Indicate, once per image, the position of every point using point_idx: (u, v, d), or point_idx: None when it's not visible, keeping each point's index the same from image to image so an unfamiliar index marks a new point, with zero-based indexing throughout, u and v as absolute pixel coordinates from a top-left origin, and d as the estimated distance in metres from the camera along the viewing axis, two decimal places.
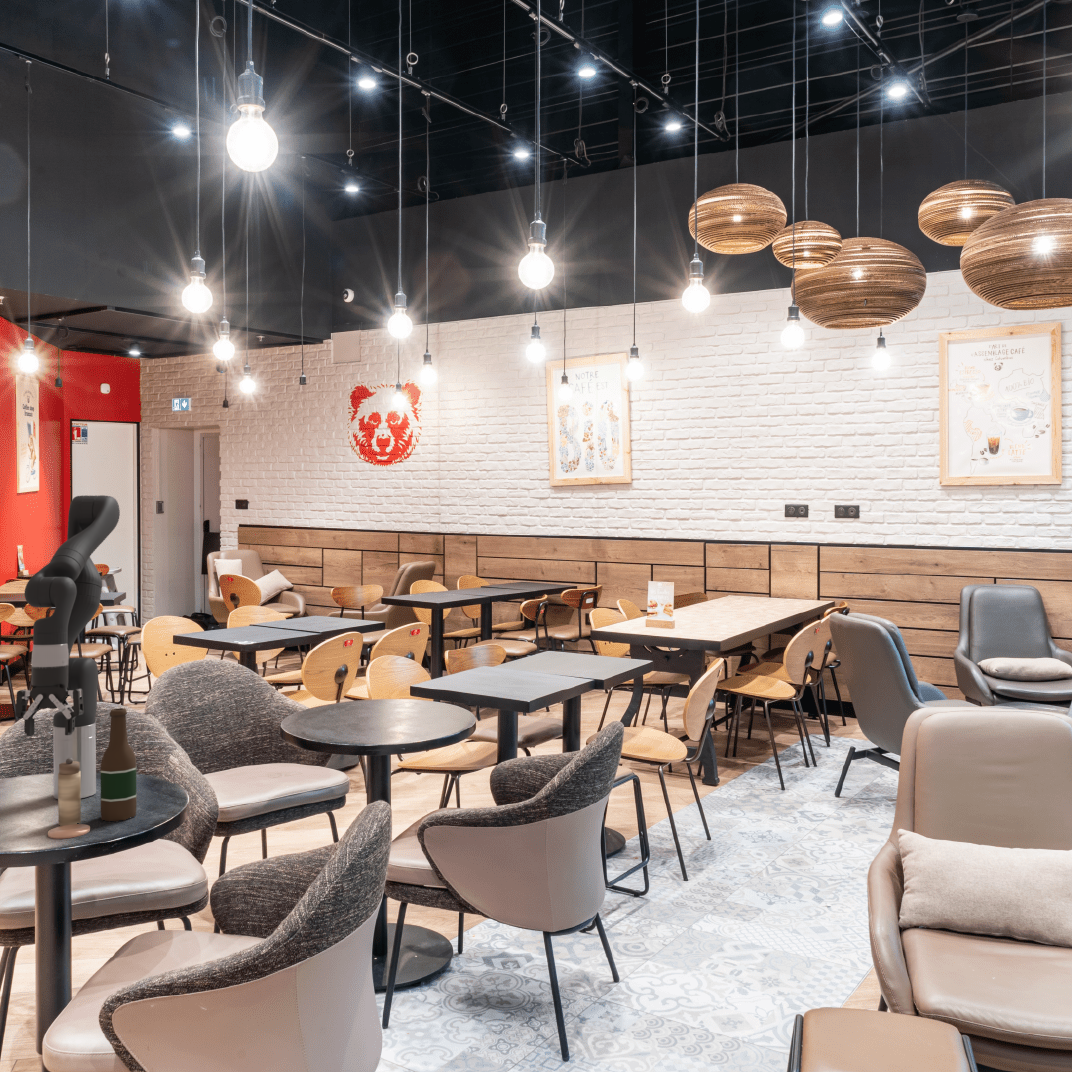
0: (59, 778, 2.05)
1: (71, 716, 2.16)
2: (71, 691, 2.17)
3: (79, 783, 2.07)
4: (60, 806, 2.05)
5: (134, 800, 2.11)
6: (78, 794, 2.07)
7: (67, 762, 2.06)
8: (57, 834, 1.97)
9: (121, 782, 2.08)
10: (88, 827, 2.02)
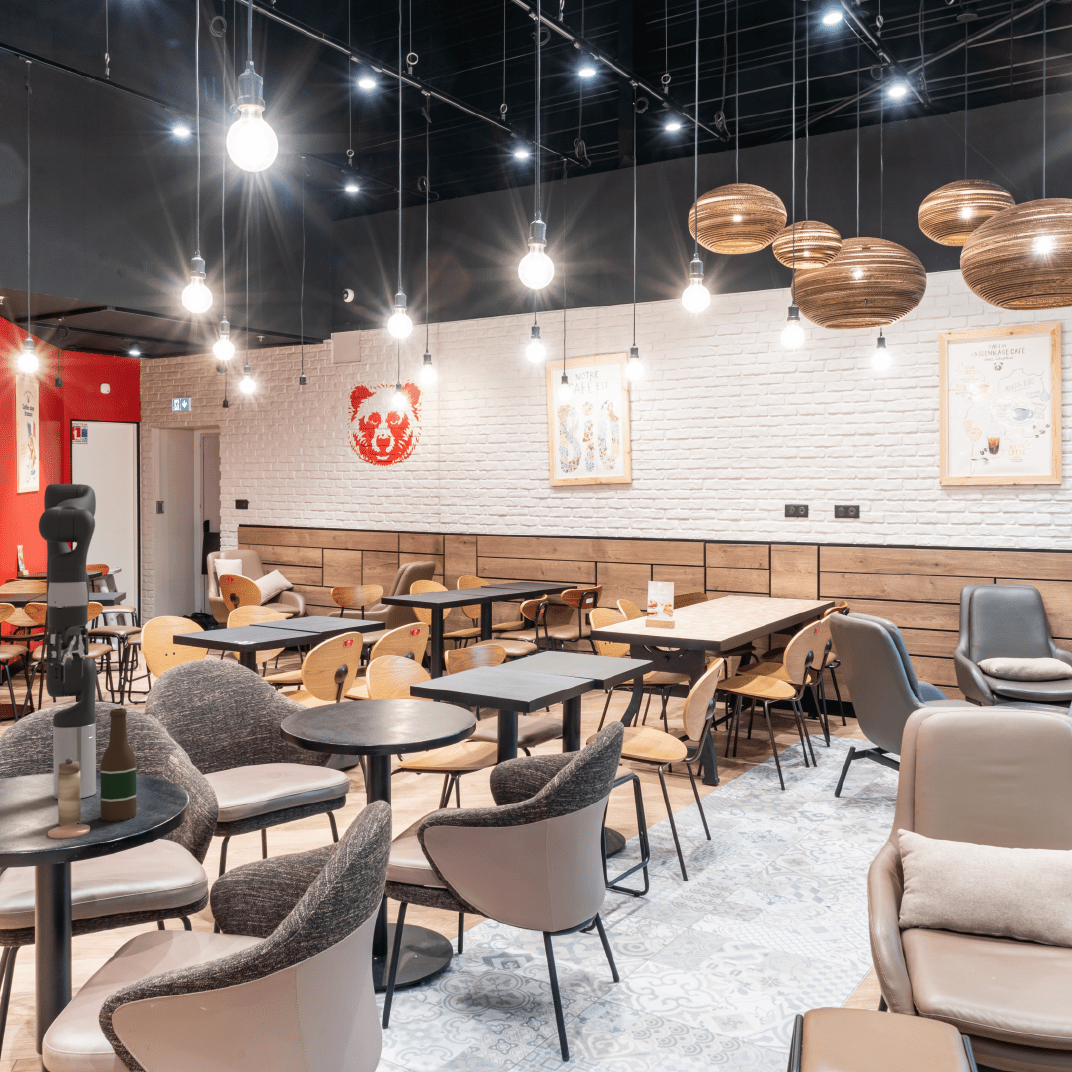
0: (58, 778, 2.05)
1: None
2: (80, 631, 2.05)
3: (79, 783, 2.07)
4: (60, 806, 2.05)
5: (134, 800, 2.11)
6: (78, 794, 2.07)
7: (67, 762, 2.06)
8: (57, 834, 1.97)
9: (121, 782, 2.08)
10: (88, 827, 2.02)
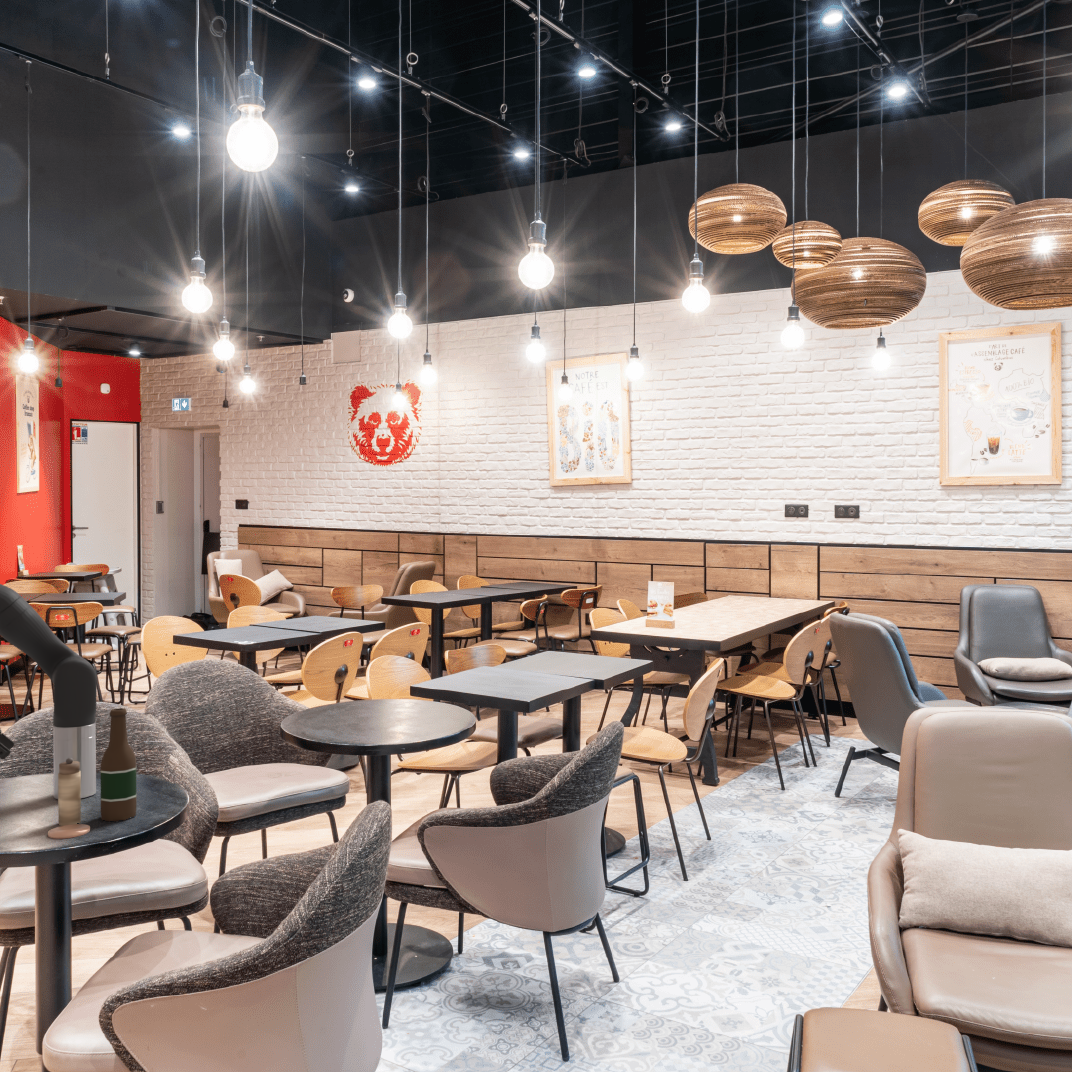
0: (59, 778, 2.06)
1: None
2: None
3: (79, 783, 2.07)
4: (60, 806, 2.05)
5: (134, 800, 2.11)
6: (78, 794, 2.07)
7: (67, 762, 2.07)
8: (57, 834, 1.97)
9: (121, 782, 2.08)
10: (88, 827, 2.02)
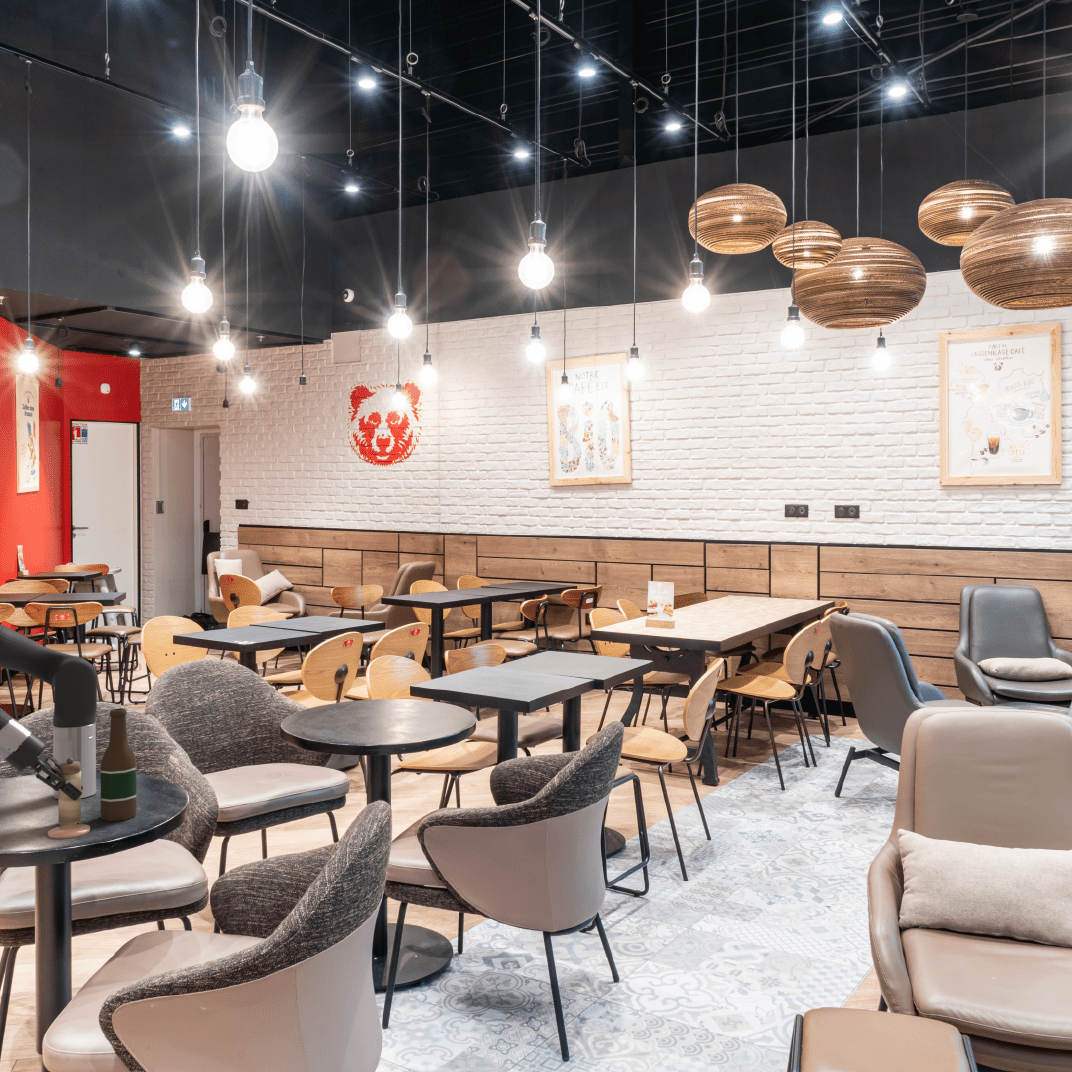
0: None
1: None
2: None
3: (79, 783, 2.07)
4: (60, 806, 2.05)
5: (134, 800, 2.11)
6: None
7: (68, 762, 2.07)
8: (57, 834, 1.97)
9: (121, 782, 2.08)
10: (88, 827, 2.02)
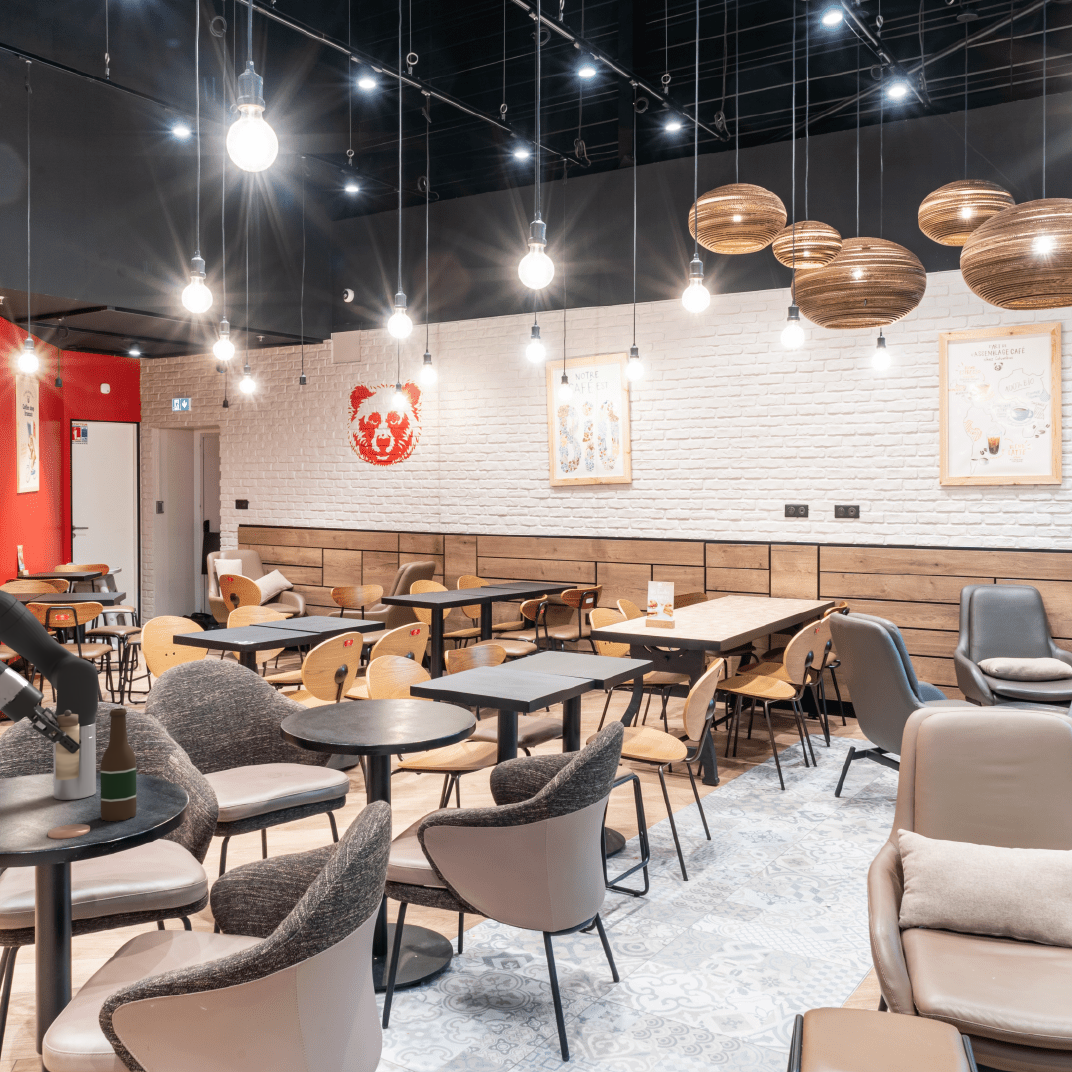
0: None
1: None
2: None
3: (78, 736, 2.00)
4: (58, 759, 1.98)
5: (134, 800, 2.11)
6: None
7: (65, 714, 2.00)
8: (57, 834, 1.97)
9: (121, 782, 2.08)
10: (88, 827, 2.02)
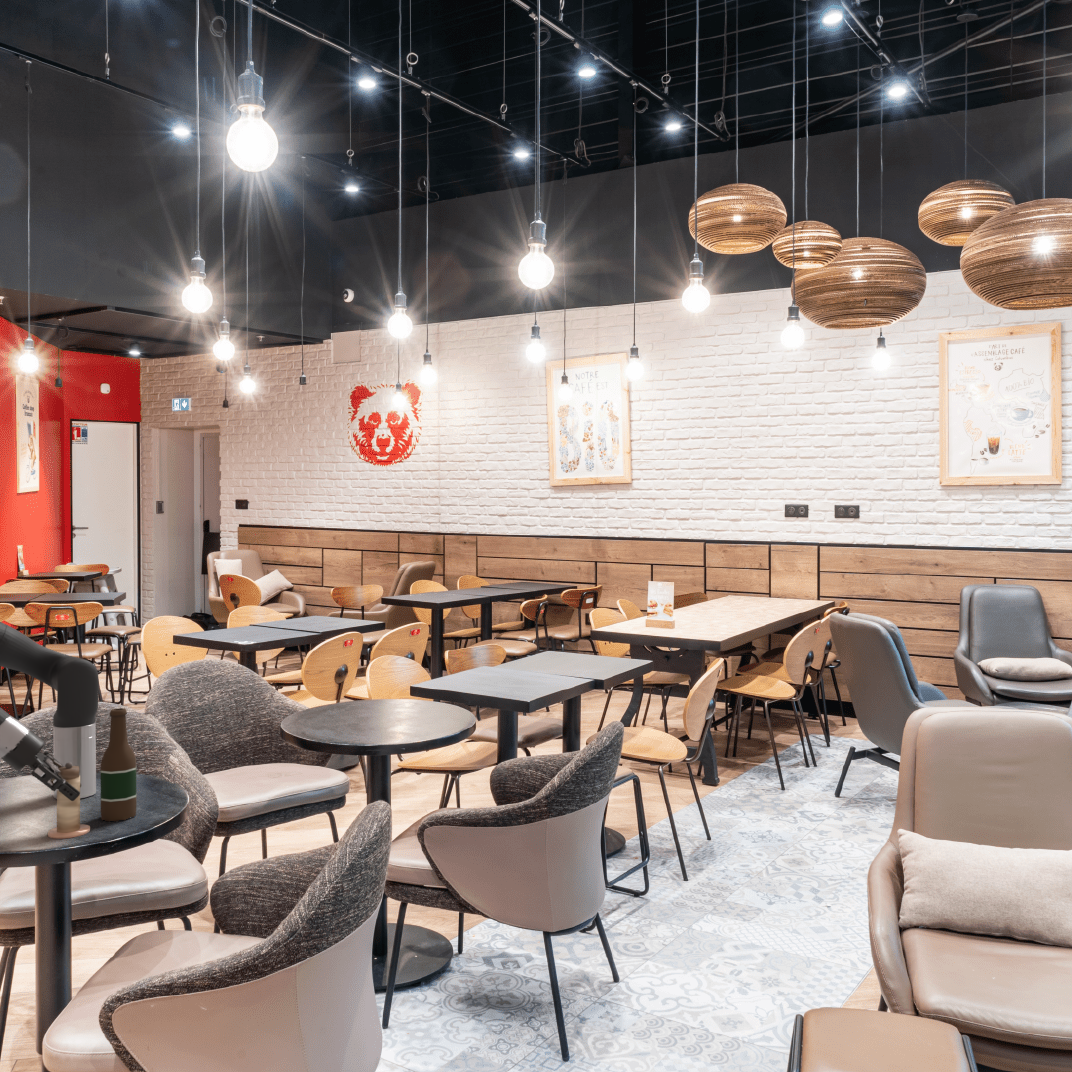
0: None
1: None
2: None
3: (79, 788, 2.00)
4: (59, 812, 1.98)
5: (134, 800, 2.11)
6: (77, 800, 2.00)
7: (66, 766, 2.00)
8: (57, 834, 1.97)
9: (121, 782, 2.08)
10: (88, 827, 2.02)
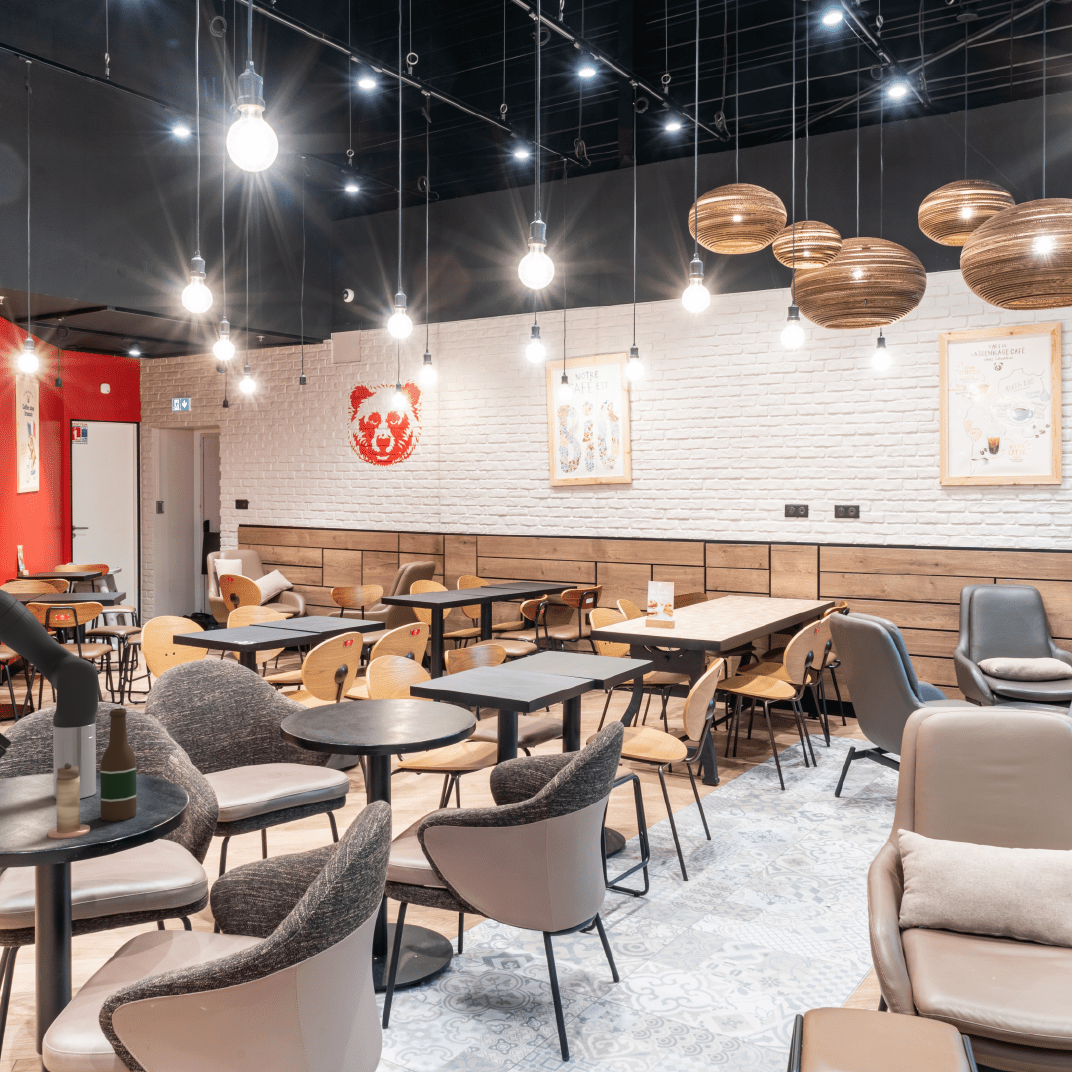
0: (57, 784, 1.98)
1: None
2: None
3: (78, 788, 2.00)
4: (58, 812, 1.98)
5: (134, 800, 2.11)
6: (77, 800, 2.00)
7: (66, 767, 2.00)
8: (57, 834, 1.97)
9: (121, 782, 2.08)
10: (88, 827, 2.02)
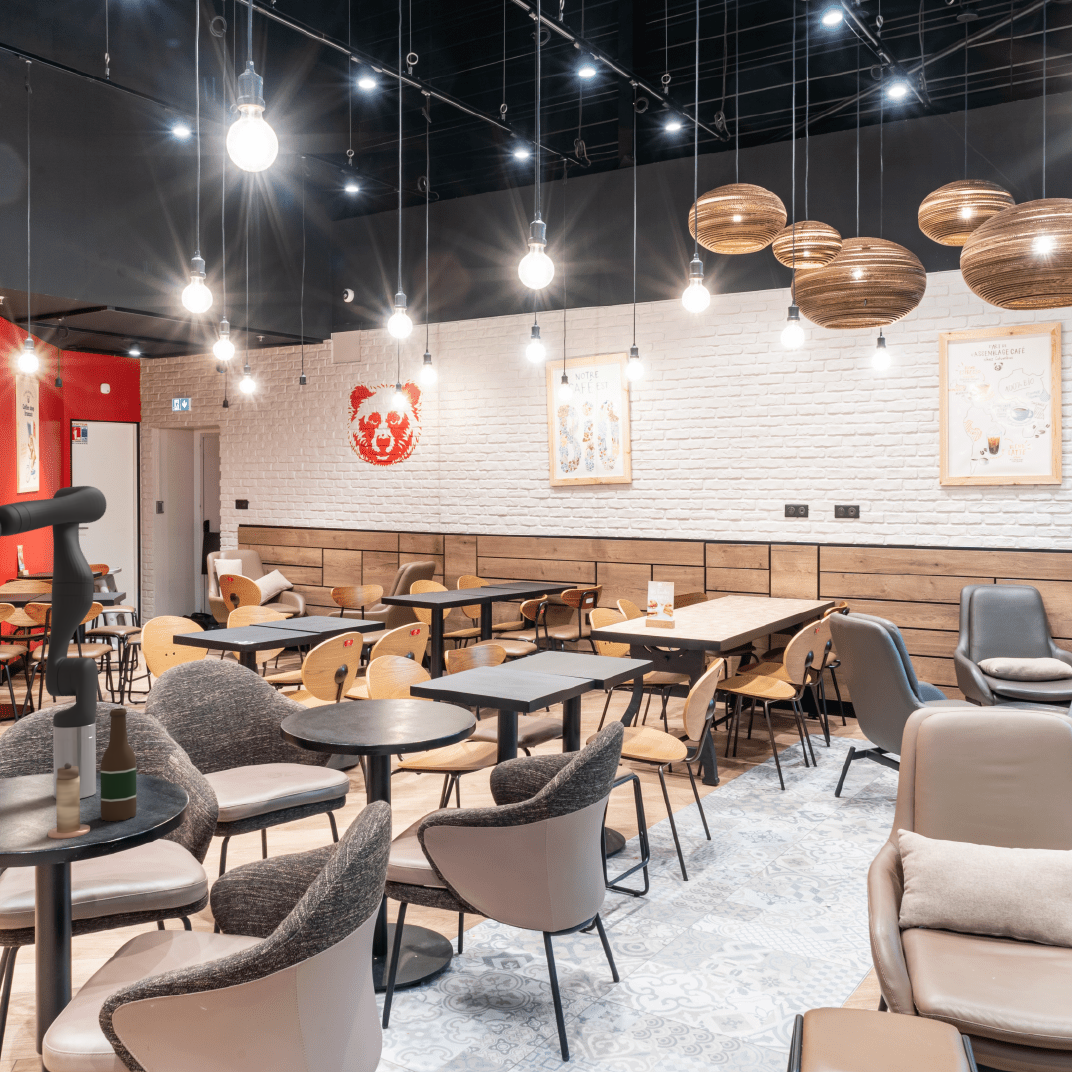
0: (57, 784, 1.98)
1: None
2: None
3: (78, 788, 2.00)
4: (58, 812, 1.98)
5: (134, 800, 2.11)
6: (77, 800, 2.00)
7: (66, 767, 2.00)
8: (57, 834, 1.97)
9: (121, 782, 2.08)
10: (88, 827, 2.02)
